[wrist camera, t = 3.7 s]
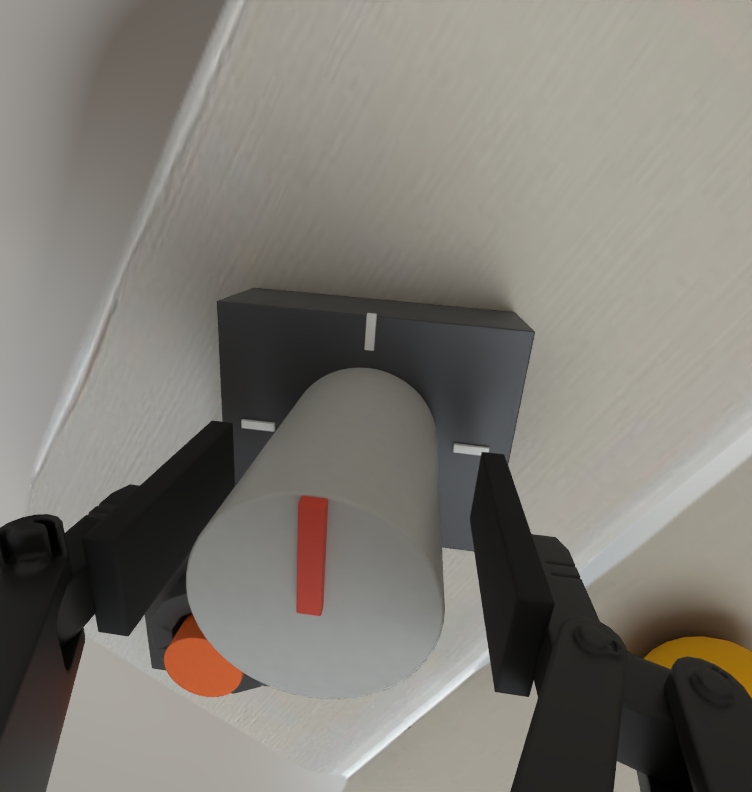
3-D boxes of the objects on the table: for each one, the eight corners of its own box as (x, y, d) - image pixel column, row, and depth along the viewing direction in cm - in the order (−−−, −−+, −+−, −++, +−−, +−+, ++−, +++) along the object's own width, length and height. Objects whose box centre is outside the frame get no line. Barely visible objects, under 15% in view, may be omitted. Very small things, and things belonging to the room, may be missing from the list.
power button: (183, 660, 25) (167, 690, 24) (178, 604, 24) (159, 632, 22) (254, 671, 25) (242, 702, 23) (253, 615, 23) (240, 644, 22)
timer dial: (427, 507, 20) (428, 730, 11) (290, 490, 20) (187, 692, 11) (445, 375, 18) (464, 521, 9) (292, 359, 18) (166, 483, 9)
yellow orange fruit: (649, 729, 28) (723, 895, 21) (585, 646, 26) (642, 797, 19) (786, 683, 26) (919, 852, 19) (725, 589, 24) (846, 736, 17)
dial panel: (256, 477, 25) (225, 523, 21) (253, 285, 21) (214, 298, 17) (480, 504, 24) (490, 558, 20) (515, 309, 20) (536, 329, 16)
